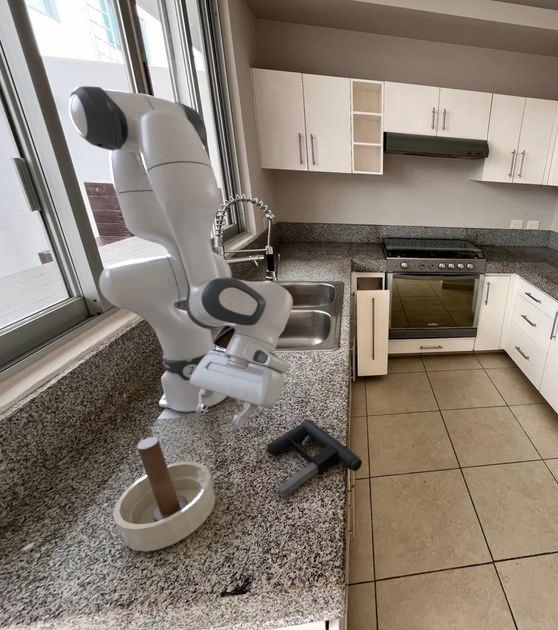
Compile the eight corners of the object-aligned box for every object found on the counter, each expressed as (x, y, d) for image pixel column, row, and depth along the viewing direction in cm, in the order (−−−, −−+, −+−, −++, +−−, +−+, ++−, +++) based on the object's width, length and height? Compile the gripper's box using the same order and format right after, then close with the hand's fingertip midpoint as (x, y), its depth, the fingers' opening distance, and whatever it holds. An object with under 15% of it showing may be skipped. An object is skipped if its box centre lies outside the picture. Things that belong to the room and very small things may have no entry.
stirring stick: (156, 508, 62) (130, 438, 56) (189, 496, 64) (167, 428, 58) (152, 531, 58) (125, 458, 52) (187, 518, 60) (165, 447, 54)
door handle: (298, 507, 61) (366, 452, 72) (246, 452, 73) (311, 412, 84) (301, 519, 62) (367, 464, 74) (249, 463, 74) (313, 423, 85)
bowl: (131, 502, 64) (122, 478, 62) (215, 474, 70) (209, 451, 68) (116, 570, 53) (104, 544, 51) (217, 530, 59) (210, 505, 57)
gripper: (201, 340, 73) (167, 404, 68) (278, 359, 67) (247, 431, 62) (222, 349, 79) (192, 409, 74) (296, 368, 72) (268, 434, 68)
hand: (218, 419), depth 68 cm, fingers open, 8 cm apart
